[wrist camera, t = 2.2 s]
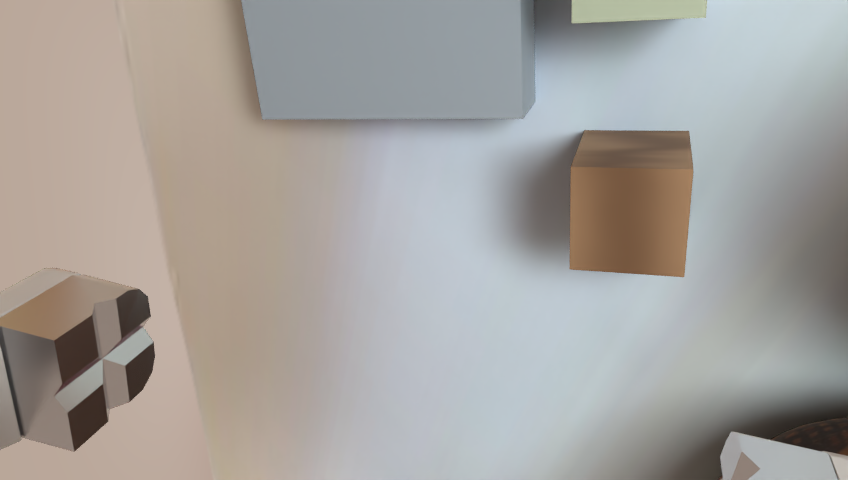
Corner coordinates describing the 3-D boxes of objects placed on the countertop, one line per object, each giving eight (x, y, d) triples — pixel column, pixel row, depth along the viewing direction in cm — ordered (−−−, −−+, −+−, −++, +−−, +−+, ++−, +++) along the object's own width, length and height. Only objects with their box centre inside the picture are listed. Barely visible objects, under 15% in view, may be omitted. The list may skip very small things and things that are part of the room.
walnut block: (688, 130, 33) (693, 169, 28) (681, 224, 35) (683, 276, 30) (584, 130, 35) (570, 166, 30) (582, 220, 37) (569, 269, 32)
